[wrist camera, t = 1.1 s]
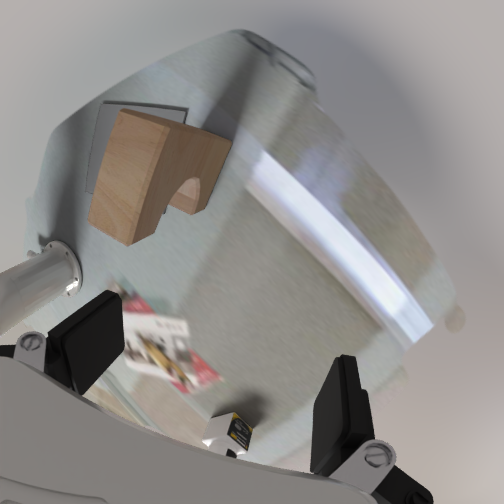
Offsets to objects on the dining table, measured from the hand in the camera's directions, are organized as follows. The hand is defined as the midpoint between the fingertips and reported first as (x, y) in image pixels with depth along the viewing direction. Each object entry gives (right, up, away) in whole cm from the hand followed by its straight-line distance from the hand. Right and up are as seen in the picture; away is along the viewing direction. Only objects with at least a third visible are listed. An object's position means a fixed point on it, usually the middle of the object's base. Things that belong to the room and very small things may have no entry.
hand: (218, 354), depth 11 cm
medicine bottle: (-3, -34, +44) cm, 56 cm away
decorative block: (-6, +16, +29) cm, 34 cm away
